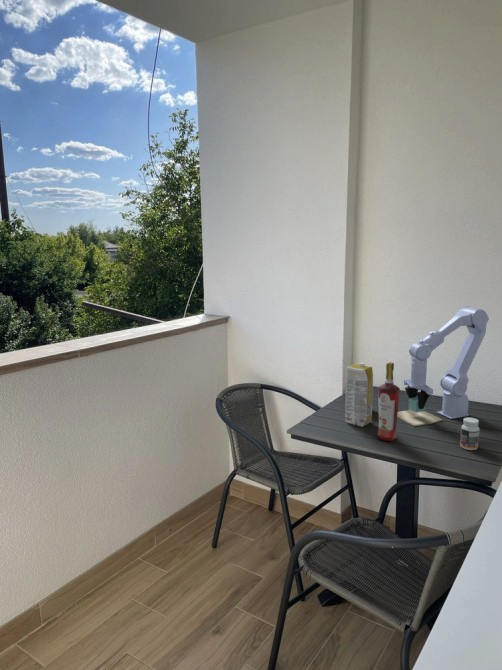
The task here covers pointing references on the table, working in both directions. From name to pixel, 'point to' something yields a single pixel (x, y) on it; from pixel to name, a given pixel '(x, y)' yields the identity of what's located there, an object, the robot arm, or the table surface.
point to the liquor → (388, 406)
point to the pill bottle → (470, 434)
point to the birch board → (417, 418)
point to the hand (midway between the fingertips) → (416, 406)
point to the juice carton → (358, 394)
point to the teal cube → (414, 405)
